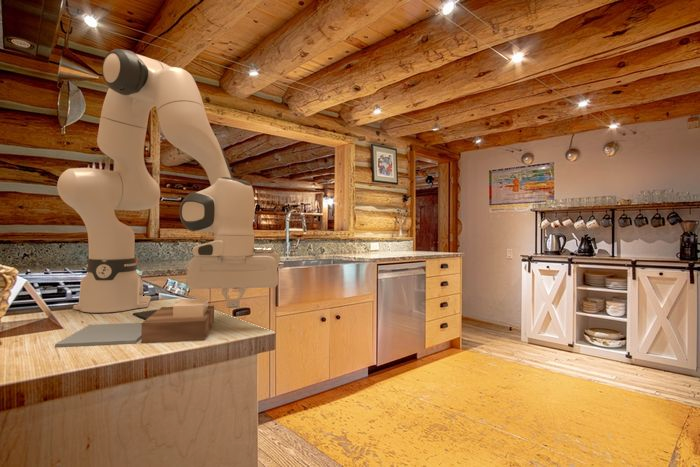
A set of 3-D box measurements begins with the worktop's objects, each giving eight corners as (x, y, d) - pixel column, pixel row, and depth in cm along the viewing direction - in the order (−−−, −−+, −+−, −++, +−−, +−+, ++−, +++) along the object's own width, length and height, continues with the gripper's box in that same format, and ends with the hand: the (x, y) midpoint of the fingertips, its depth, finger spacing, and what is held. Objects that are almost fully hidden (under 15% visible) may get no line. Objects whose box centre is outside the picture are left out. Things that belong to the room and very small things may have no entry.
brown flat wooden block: (161, 323, 91) (161, 307, 91) (213, 321, 94) (214, 305, 94) (141, 343, 76) (141, 323, 76) (204, 340, 79) (205, 320, 78)
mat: (89, 327, 87) (89, 324, 87) (155, 324, 90) (155, 322, 90) (55, 347, 72) (55, 344, 72) (135, 343, 76) (135, 340, 76)
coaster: (180, 309, 89) (180, 299, 89) (207, 309, 90) (207, 298, 90) (173, 317, 81) (173, 306, 81) (202, 316, 82) (203, 305, 82)
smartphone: (159, 309, 106) (184, 316, 96) (159, 312, 106) (184, 320, 96) (130, 313, 101) (153, 321, 91) (130, 316, 101) (153, 325, 91)
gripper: (279, 247, 93) (278, 303, 93) (190, 246, 88) (189, 305, 88) (280, 248, 87) (279, 308, 87) (185, 248, 82) (184, 311, 82)
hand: (233, 307), depth 88 cm, fingers closed
